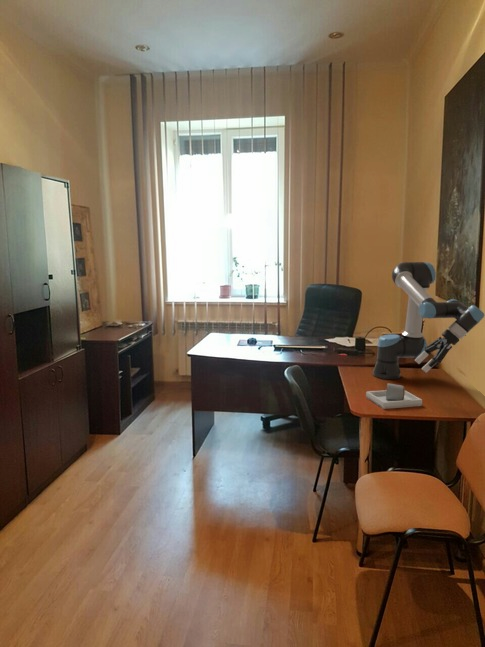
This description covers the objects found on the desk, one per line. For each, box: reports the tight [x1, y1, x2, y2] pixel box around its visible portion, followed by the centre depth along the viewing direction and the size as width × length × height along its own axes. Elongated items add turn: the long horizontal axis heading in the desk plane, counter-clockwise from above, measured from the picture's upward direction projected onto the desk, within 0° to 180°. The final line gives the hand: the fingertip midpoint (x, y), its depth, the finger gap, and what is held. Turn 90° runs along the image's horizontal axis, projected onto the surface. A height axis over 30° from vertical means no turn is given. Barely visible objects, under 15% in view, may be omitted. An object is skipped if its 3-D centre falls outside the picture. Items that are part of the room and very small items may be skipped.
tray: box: [365, 389, 423, 410], centre depth 221 cm, size 16×20×3 cm
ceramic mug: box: [385, 382, 406, 401], centre depth 221 cm, size 11×8×8 cm
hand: (420, 366), depth 219 cm, fingers open, 13 cm apart
